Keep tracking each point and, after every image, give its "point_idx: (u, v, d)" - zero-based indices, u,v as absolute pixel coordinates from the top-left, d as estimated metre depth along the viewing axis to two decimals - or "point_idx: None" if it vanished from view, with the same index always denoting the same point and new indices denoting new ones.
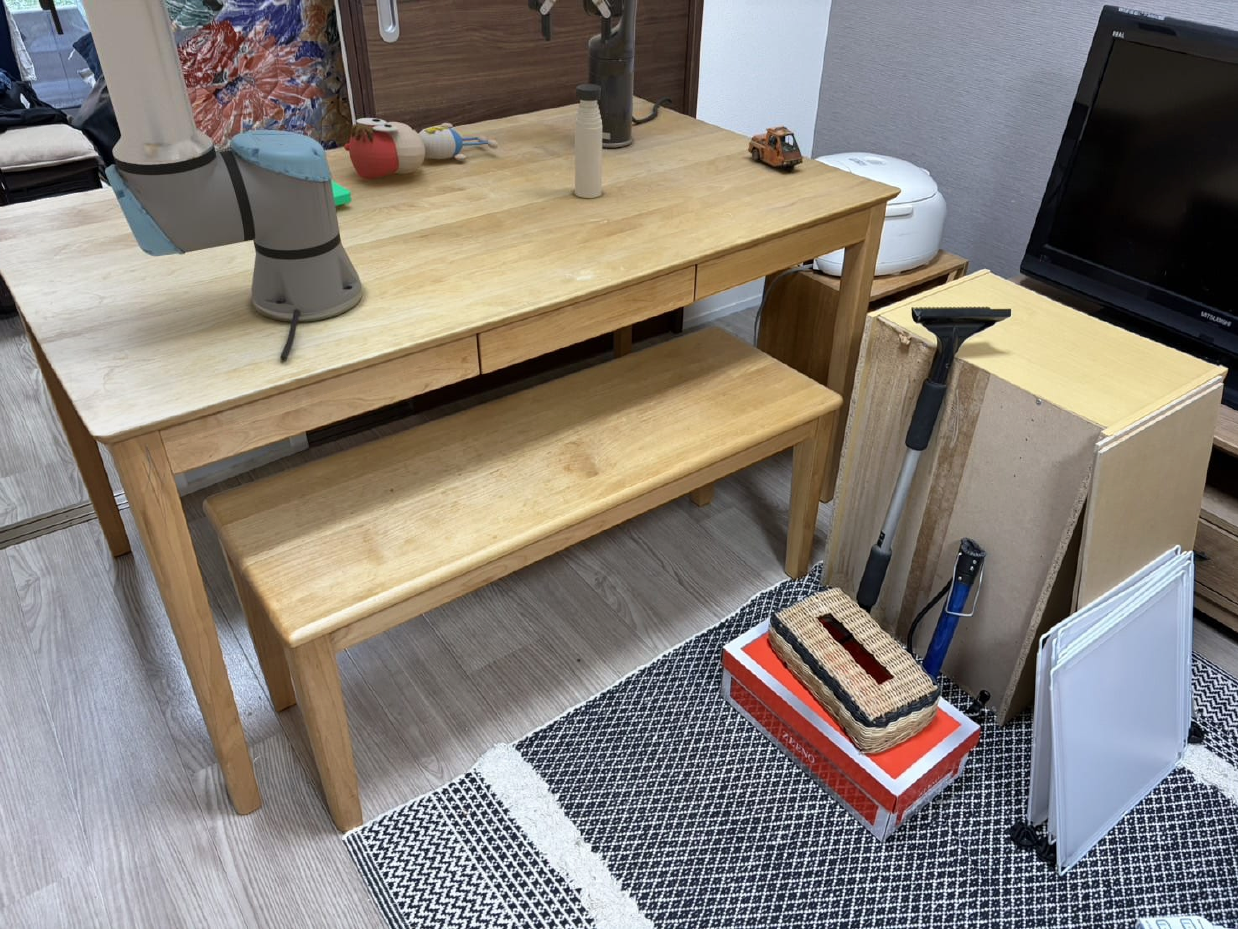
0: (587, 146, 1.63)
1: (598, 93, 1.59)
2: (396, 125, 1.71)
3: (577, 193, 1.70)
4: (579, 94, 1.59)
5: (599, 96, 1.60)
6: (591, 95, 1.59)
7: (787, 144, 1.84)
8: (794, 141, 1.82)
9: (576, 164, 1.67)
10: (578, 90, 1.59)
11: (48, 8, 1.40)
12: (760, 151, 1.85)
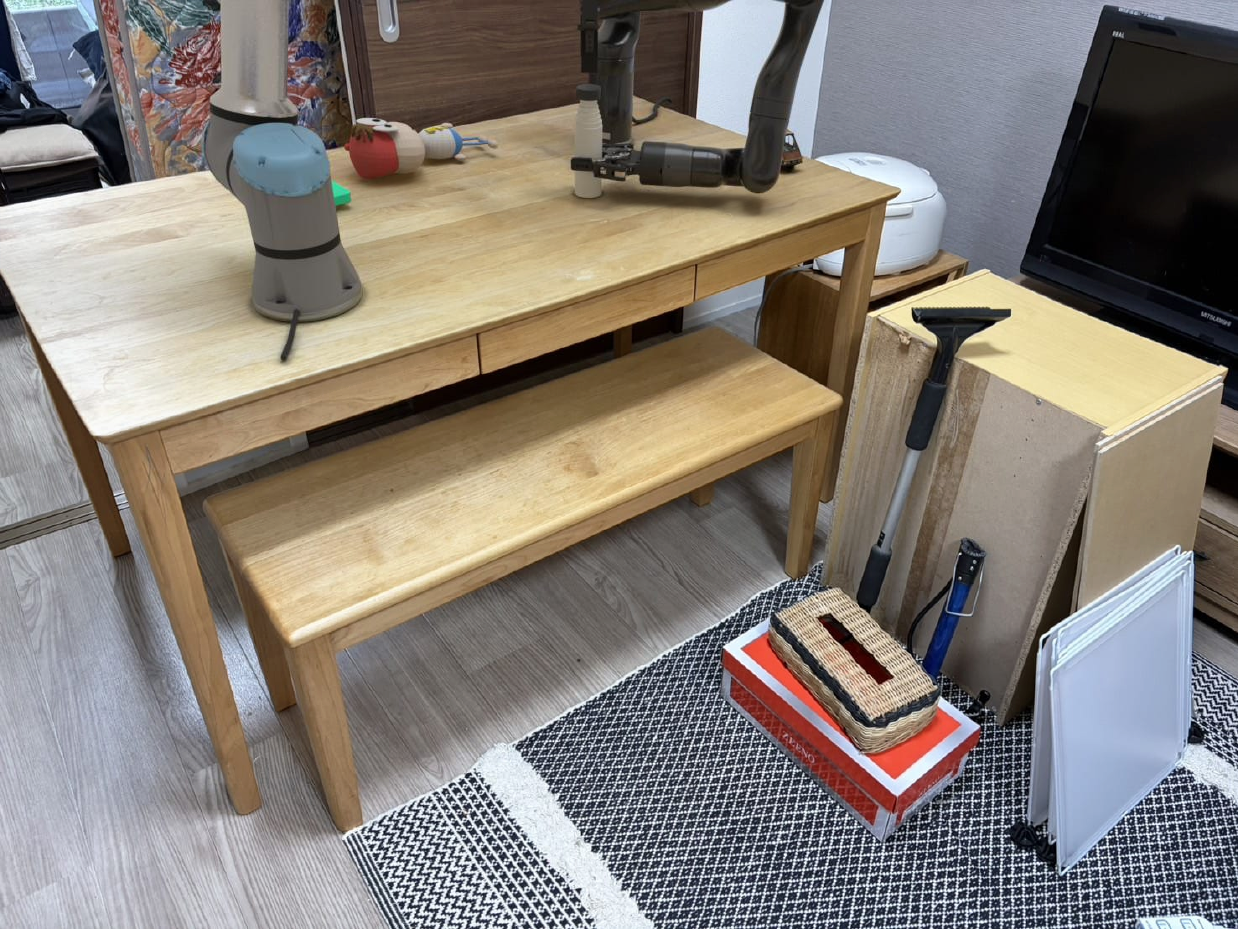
0: (587, 145, 1.63)
1: (598, 93, 1.59)
2: (396, 125, 1.71)
3: (577, 193, 1.70)
4: (579, 94, 1.59)
5: (599, 96, 1.60)
6: (591, 95, 1.59)
7: (787, 144, 1.84)
8: (794, 141, 1.82)
9: None
10: (578, 90, 1.59)
11: (593, 49, 1.50)
12: None
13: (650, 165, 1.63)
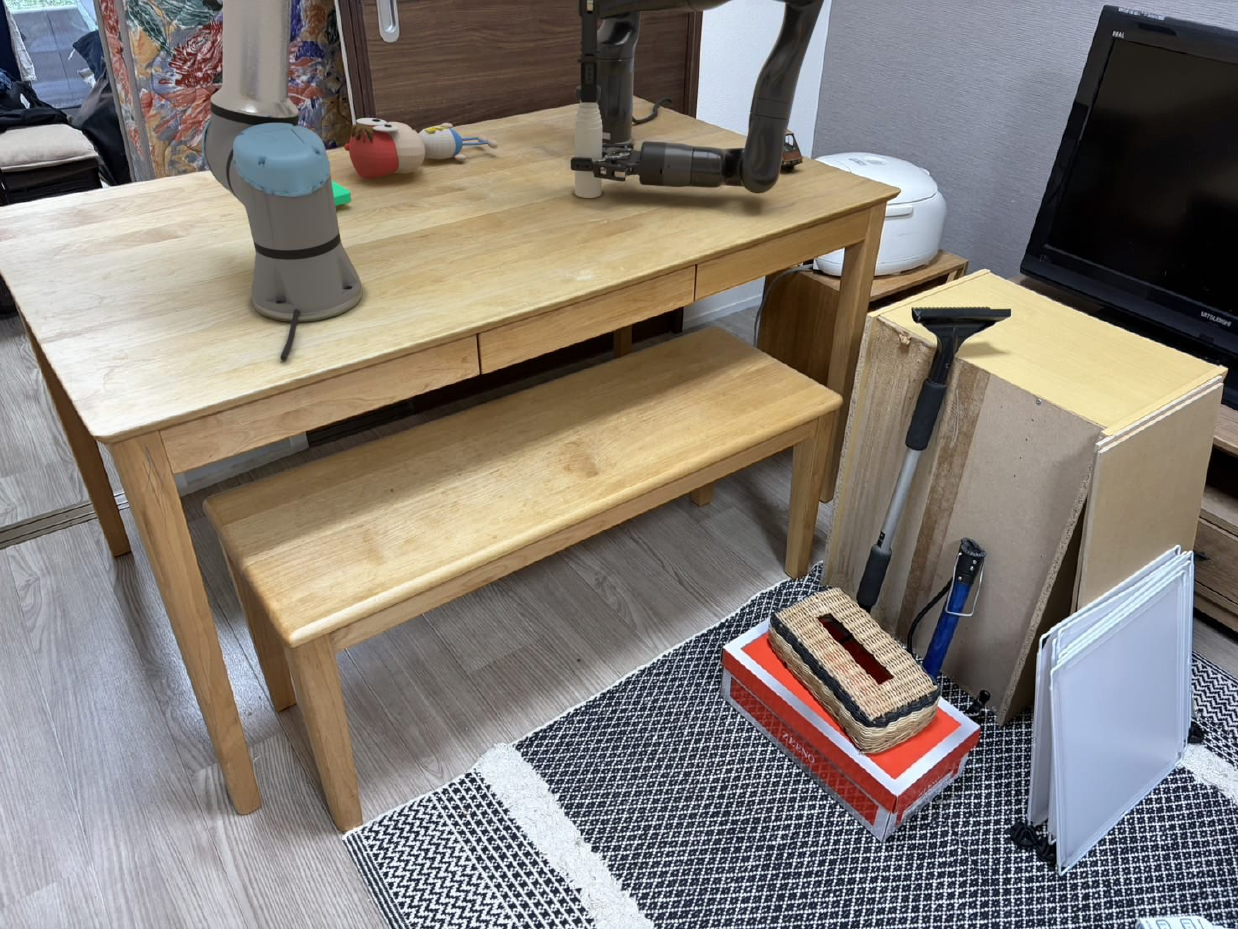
0: (587, 146, 1.63)
1: (598, 93, 1.59)
2: (396, 125, 1.71)
3: (577, 193, 1.70)
4: (579, 94, 1.59)
5: (599, 96, 1.60)
6: None
7: (787, 144, 1.84)
8: (794, 141, 1.82)
9: None
10: (578, 90, 1.59)
11: (593, 81, 1.56)
12: None
13: (651, 165, 1.63)
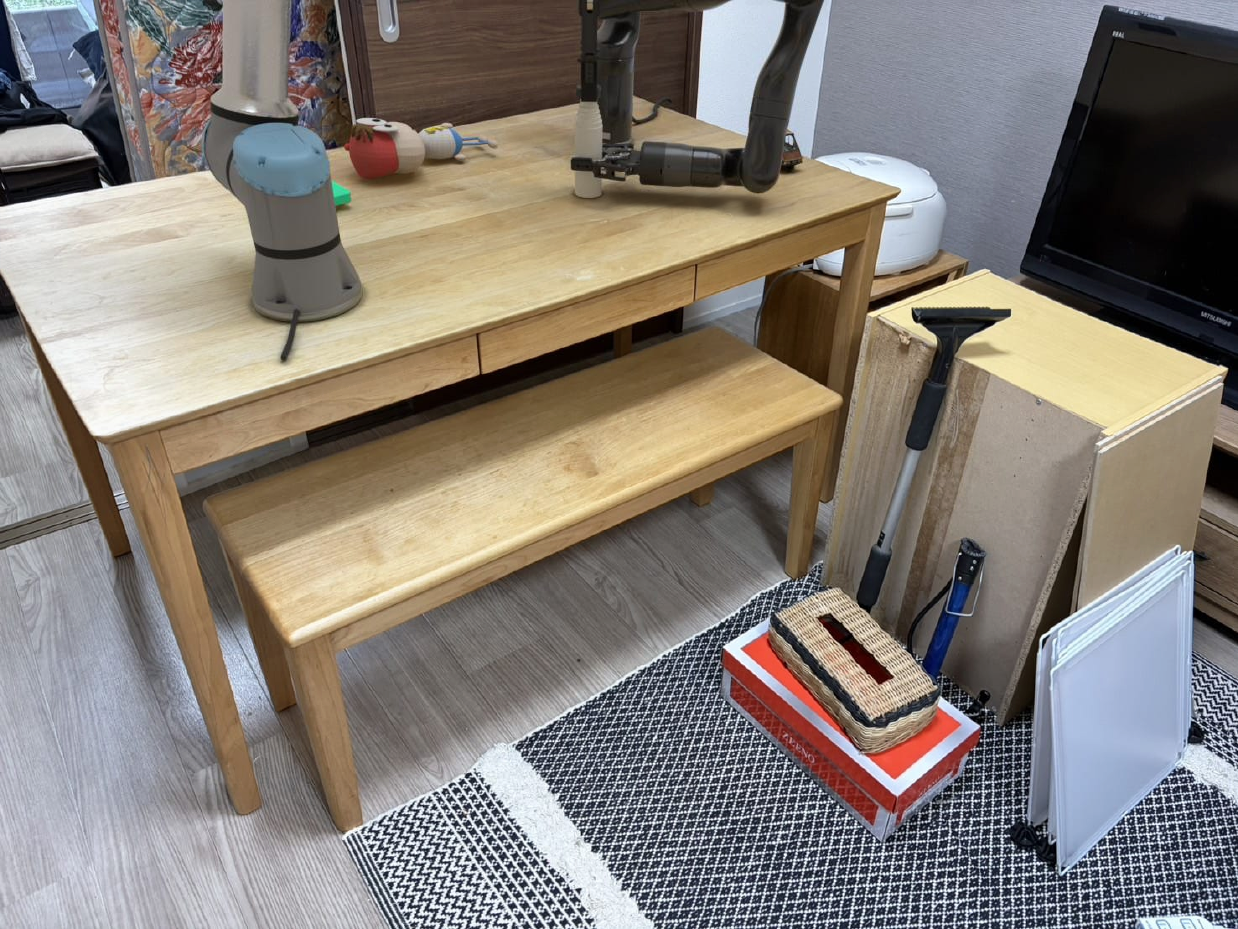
0: (587, 146, 1.63)
1: None
2: (396, 125, 1.71)
3: (577, 193, 1.70)
4: (600, 93, 1.60)
5: None
6: None
7: (787, 144, 1.84)
8: (794, 141, 1.82)
9: None
10: (599, 90, 1.59)
11: (593, 80, 1.56)
12: None
13: (651, 165, 1.63)
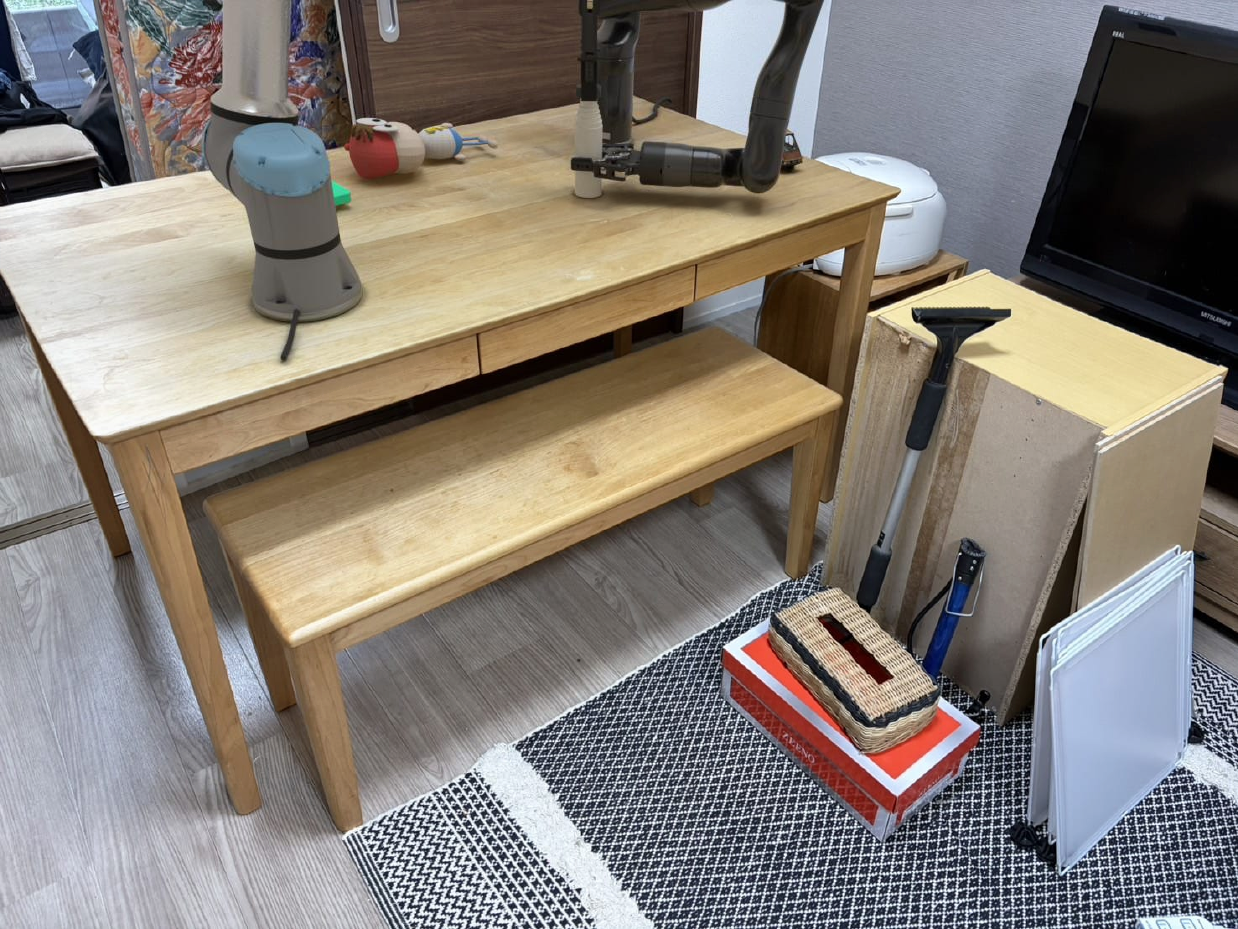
0: (587, 146, 1.63)
1: (577, 91, 1.59)
2: (396, 125, 1.71)
3: (577, 193, 1.70)
4: None
5: (578, 94, 1.60)
6: None
7: (787, 144, 1.84)
8: (794, 141, 1.82)
9: None
10: None
11: (593, 79, 1.56)
12: None
13: (651, 165, 1.63)
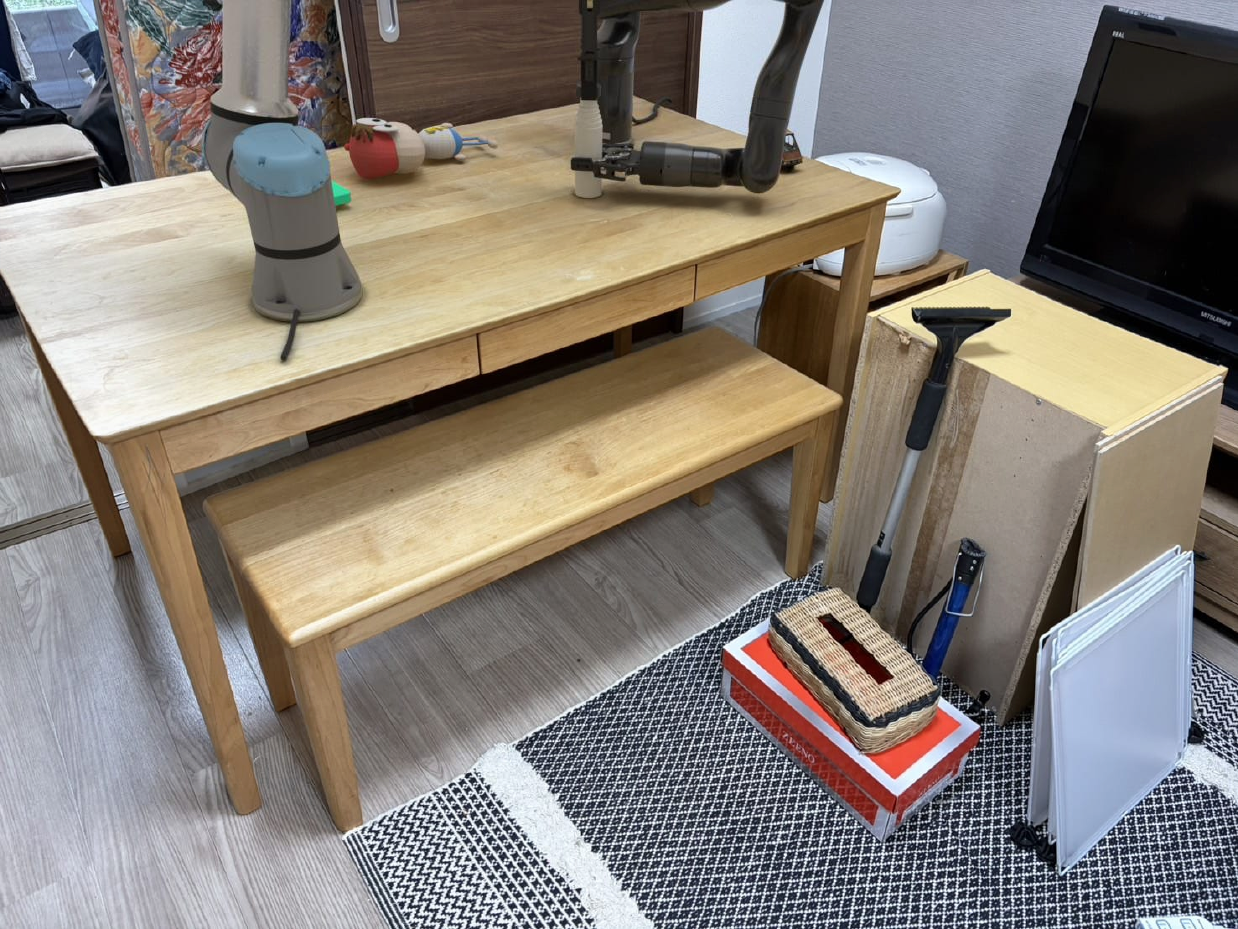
0: (587, 146, 1.63)
1: (598, 91, 1.59)
2: (396, 125, 1.71)
3: (577, 193, 1.70)
4: (579, 92, 1.59)
5: (599, 94, 1.60)
6: None
7: (787, 144, 1.84)
8: (794, 141, 1.82)
9: None
10: (578, 88, 1.59)
11: (593, 78, 1.56)
12: None
13: (651, 165, 1.63)
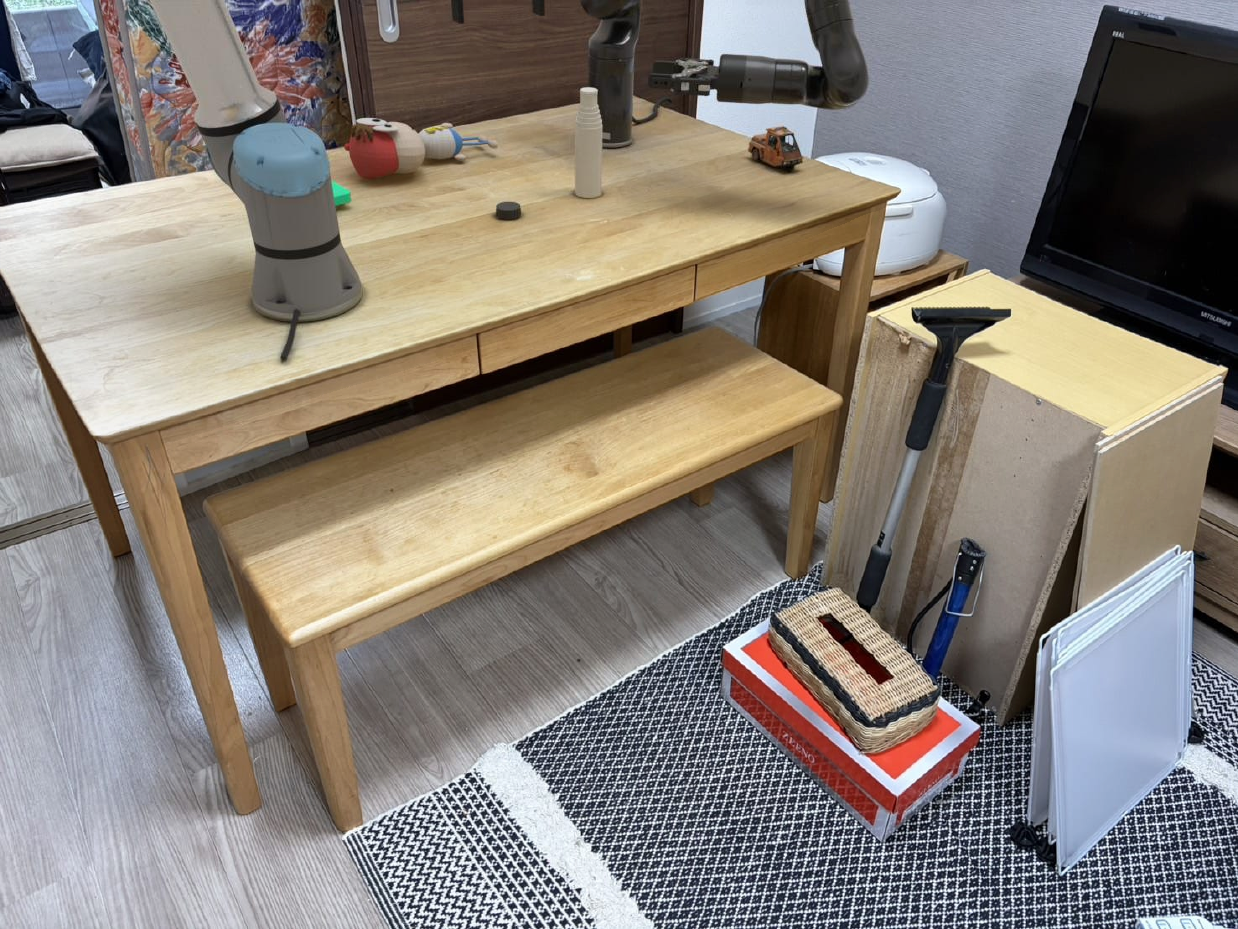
0: (587, 146, 1.63)
1: None
2: (396, 125, 1.71)
3: (577, 193, 1.70)
4: (519, 212, 1.61)
5: None
6: None
7: (787, 144, 1.84)
8: (794, 141, 1.82)
9: (576, 164, 1.67)
10: (517, 210, 1.60)
11: None
12: (760, 151, 1.85)
13: (730, 79, 1.53)
